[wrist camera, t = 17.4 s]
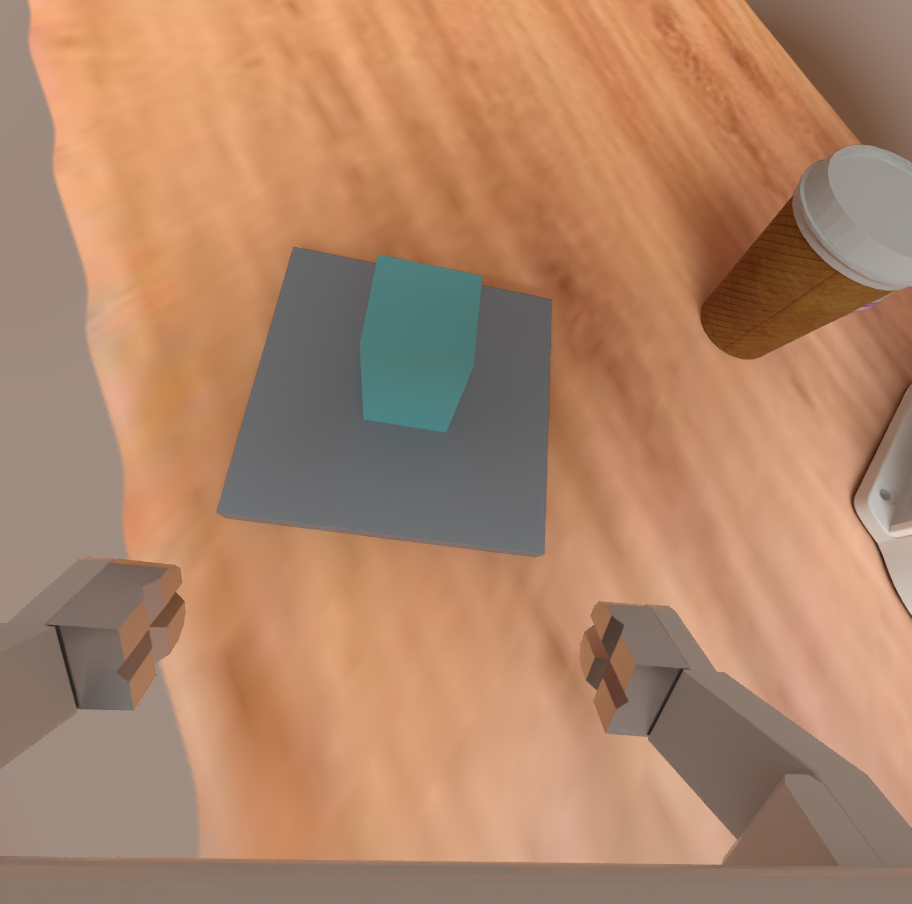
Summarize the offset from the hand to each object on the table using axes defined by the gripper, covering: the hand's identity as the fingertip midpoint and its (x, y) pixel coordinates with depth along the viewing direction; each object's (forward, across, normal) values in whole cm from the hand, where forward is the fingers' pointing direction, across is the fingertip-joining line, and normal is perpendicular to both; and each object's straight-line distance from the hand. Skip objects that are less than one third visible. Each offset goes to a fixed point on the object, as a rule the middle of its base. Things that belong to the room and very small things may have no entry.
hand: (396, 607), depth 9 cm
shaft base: (+21, 0, +3) cm, 21 cm away
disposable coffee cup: (+29, -25, -5) cm, 39 cm away
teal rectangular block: (+20, 0, +2) cm, 20 cm away
